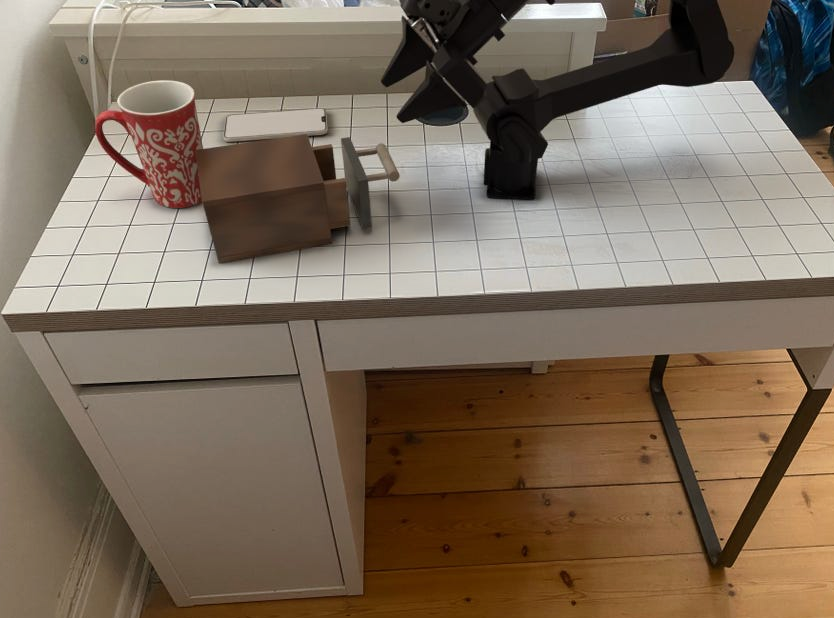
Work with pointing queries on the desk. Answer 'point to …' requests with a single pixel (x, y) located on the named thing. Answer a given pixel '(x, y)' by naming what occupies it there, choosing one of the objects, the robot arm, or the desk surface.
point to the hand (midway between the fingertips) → (390, 101)
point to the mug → (160, 139)
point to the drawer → (351, 181)
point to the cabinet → (263, 197)
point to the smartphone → (275, 124)
